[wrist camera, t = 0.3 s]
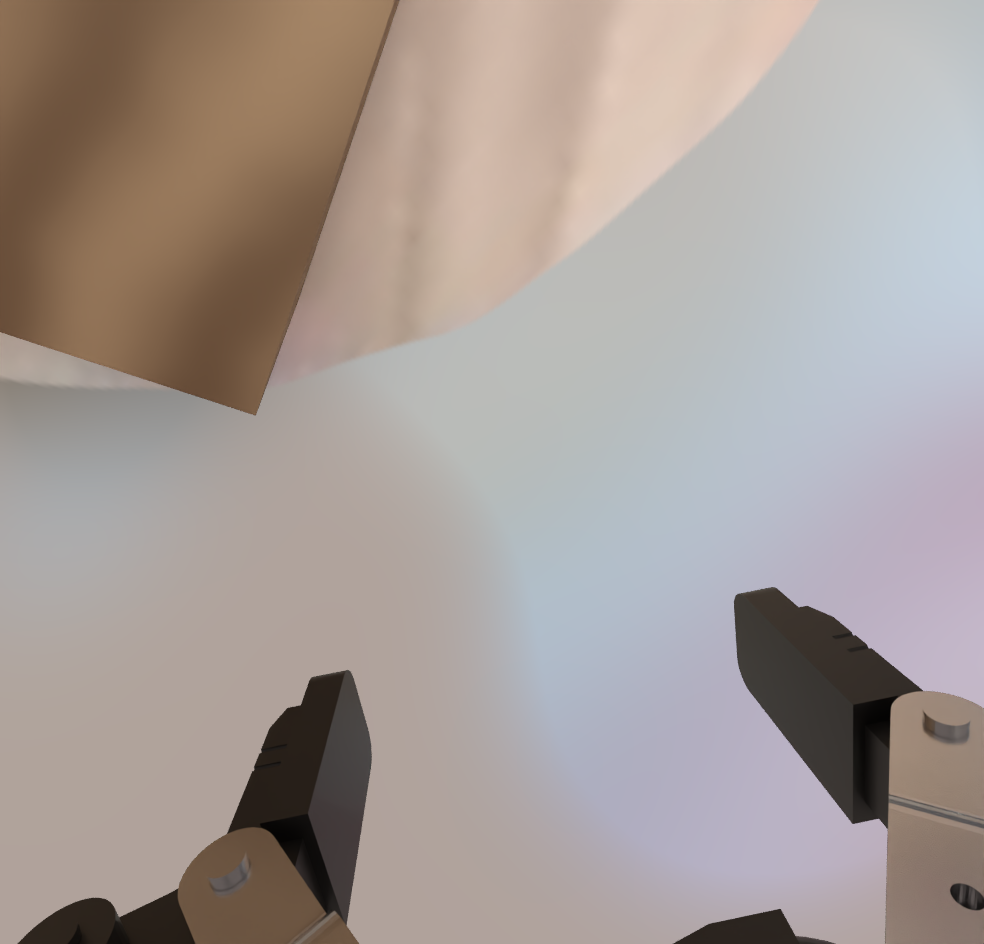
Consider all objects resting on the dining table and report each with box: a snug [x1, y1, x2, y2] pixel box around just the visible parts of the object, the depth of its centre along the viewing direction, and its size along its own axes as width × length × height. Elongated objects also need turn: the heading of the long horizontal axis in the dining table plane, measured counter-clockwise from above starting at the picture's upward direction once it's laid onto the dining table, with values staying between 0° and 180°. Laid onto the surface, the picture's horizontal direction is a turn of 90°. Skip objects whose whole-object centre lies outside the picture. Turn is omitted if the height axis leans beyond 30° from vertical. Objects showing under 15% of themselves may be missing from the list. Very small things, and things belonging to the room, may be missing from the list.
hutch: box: [0, 0, 399, 415], centre depth 22 cm, size 14×19×16 cm
